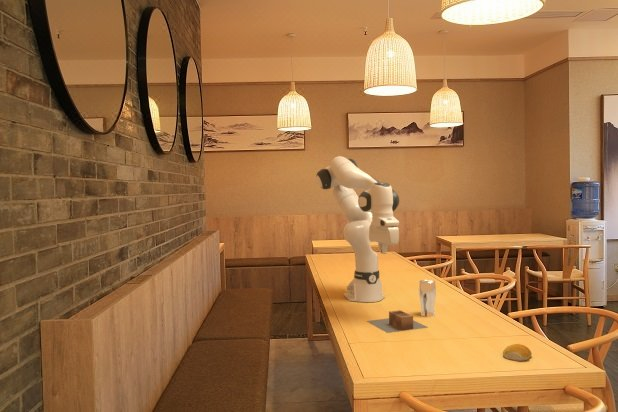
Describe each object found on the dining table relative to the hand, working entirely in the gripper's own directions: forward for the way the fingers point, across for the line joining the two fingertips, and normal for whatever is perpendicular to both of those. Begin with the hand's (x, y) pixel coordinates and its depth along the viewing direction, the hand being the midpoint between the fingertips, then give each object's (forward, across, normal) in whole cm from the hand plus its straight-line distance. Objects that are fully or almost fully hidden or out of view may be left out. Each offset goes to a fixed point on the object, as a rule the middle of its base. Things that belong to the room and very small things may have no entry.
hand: (383, 253), depth 217 cm
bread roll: (+28, +61, +15) cm, 69 cm away
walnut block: (+24, +12, -2) cm, 27 cm away
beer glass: (+27, +7, +17) cm, 33 cm away
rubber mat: (+27, +14, -2) cm, 31 cm away
